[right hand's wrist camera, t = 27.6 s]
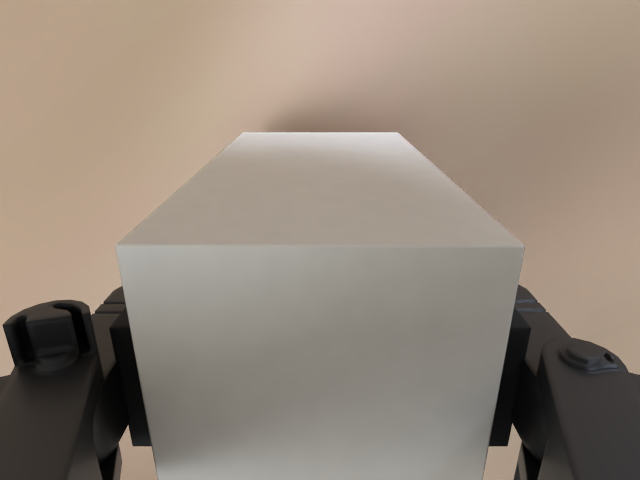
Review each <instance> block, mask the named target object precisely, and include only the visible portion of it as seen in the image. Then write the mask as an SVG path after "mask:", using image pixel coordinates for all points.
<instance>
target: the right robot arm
mask: <svg viewBox="0 0 640 480" xmlns="http://www.w3.org/2000/svg"><path fill="white" fill-rule="evenodd" d="M3 328H4V332H5V335H6V338H7V342H8V345H9V348H10V351H11V355H12V358H13V361H14V365H15V367H14V369H13V371H12V373H11V375H8V376H3V377H0V480H120V474H121V466H122V458H121V452H120V447H119V441H120V439H121V437H122V435H123V433H124V431H125V430H126V428H127V426H128V425H129V430H130V434H131V439H132V444H133V446H152V445H151V439H150V434H149V428H148V423H147V417H146V412H145V406H144V401H143V395H142V390H141V384H140V379H139V373H138V368H137V362H136V357H135V351H134V346H133V340H132V335H131V329H130V324H129V319H128V313H127V308H126V302H125V297H124V291H123V286H121V287H120V288H118V289H116V290H114V291H113V292H112V293H111V294H110V295H109V297H108V298H107V299H106V300H105V301H104V304H101V305H100V306H99V308H98V309H97V310H96V311H95V314H92V315H91V314H90V309H89V306H88V305H86V304H85V303H83V302H80V301H75V300H57V301H51V302H47V303H42V304H38V305H35V306H33V307H30V308H27V309H24V310H22V311H21V312H19V313H17V314H15V315H13V316H12V317H10V318H9V319H8V320H7V321H6V322H5V323H4V324H3ZM512 423H513V425H514V427H515V429H516V430H517V432H518V434H519V436H520V438H521V440H522V443H521V447H520V452H519V457H518V461H517V466H516V471H515V475H514V480H640V375H637V374H633V373H629V372H628V370H627V368H626V366H625V365H624V364H623V362H622V361H621V360H620V359H619V358H618V357H617V356H616V355H614V354H613V353H611V352H610V351H608V350H607V349H605V348H603V347H601V346H598V345H596V344H594V343H591V342H588V341H584V340H580V339H576V338H571V337H570V336H569V335H568V334H567V332H566V331H565V330H564V329H563V328H562V327H561V326H560V325H559V324H558V323H557V322H556V321H555V319H554V318H553V317H552V316H551V315H550V314H549V313H548V312H546V310H545V309H544V307H543V306H542V305H541V304H540V303H537V300H536V299H535V298H534V297H533V295H532V294H531V293H530V292H529V291H528V290H527V289H526V288H524V287H522V286H520V285H518V288H517V293H516V298H515V304H514V309H513V315H512V320H511V326H510V331H509V337H508V342H507V348H506V353H505V359H504V364H503V370H502V375H501V381H500V386H499V392H498V397H497V403H496V408H495V414H494V419H493V425H492V430H491V436H490V441H489V446H508V441H509V436H510V431H511V426H512Z"/></svg>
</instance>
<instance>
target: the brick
mask: <svg viewBox="0 0 640 480" xmlns="http://www.w3.org/2000/svg"><path fill="white" fill-rule="evenodd" d="M524 249H525V246H524V244H523V243H522V242H520V241H519V240H518V239H517V238H516V237H515V236H514V235H513V234H511V233H510V232H509V231H508V230H507V229H506V228H505V227H504V226H502V225H501V224H500V223H499V222H498V221H497V220H496V219H495V218H493V217H492V216H491V215H490V214H489V213H488V212H487V211H486V210H484V209H483V208H482V207H481V206H480V205H479V204H478V203H477V202H475V201H474V200H473V199H472V198H471V197H470V196H469V195H468V194H466V193H465V192H464V191H463V190H462V189H461V188H460V187H459V186H457V185H456V184H455V183H454V182H453V181H452V180H451V179H450V178H448V177H447V176H446V175H445V174H444V173H443V172H442V171H441V170H439V169H438V168H437V167H436V166H435V165H434V164H433V163H432V162H430V161H429V160H428V159H427V158H426V157H425V156H424V155H423V154H421V153H420V152H419V151H418V150H417V149H416V148H415V147H414V146H412V145H411V144H410V143H409V142H408V141H407V140H406V139H405V138H403V137H402V136H401V135H400V134H399V133H398V132H243V133H242V134H241V135H239V136H238V137H237V138H236V139H235V140H234V141H233V142H232V143H230V144H229V145H228V146H227V147H226V148H225V149H224V150H222V151H221V152H220V153H219V154H218V155H217V156H216V157H215V158H213V159H212V160H211V161H210V162H209V163H208V164H207V165H206V166H204V167H203V168H202V169H201V170H200V171H199V172H198V173H197V174H195V175H194V176H193V177H192V178H191V179H190V180H189V181H188V182H186V183H185V184H184V185H183V186H182V187H181V188H180V189H178V190H177V191H176V192H175V193H174V194H173V195H172V196H171V197H169V198H168V199H167V200H166V201H165V202H164V203H163V204H162V205H160V206H159V207H158V208H157V209H156V210H155V211H154V212H153V213H151V214H150V215H149V216H148V217H147V218H146V219H145V220H144V221H142V222H141V223H140V224H139V225H138V226H137V227H136V228H134V229H133V230H132V231H131V232H130V233H129V234H128V235H127V236H125V237H124V238H123V239H122V240H121V241H120V242H119V243H118V244H116V253H117V258H118V264H119V269H120V275H121V280H122V286H123V291H124V297H125V302H126V308H127V313H128V319H129V324H130V329H131V335H132V340H133V346H134V351H135V357H136V362H137V368H138V373H139V379H140V384H141V390H142V395H143V401H144V406H145V412H146V417H147V423H148V428H149V434H150V439H151V445H152V450H153V456H154V461H155V467H156V472H157V478H158V480H482V479H483V474H484V468H485V463H486V457H487V452H488V447H489V441H490V436H491V430H492V425H493V419H494V414H495V408H496V403H497V397H498V392H499V386H500V381H501V375H502V370H503V364H504V359H505V353H506V348H507V342H508V337H509V331H510V326H511V320H512V315H513V309H514V304H515V298H516V293H517V288H518V282H519V277H520V271H521V266H522V260H523V255H524Z"/></svg>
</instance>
